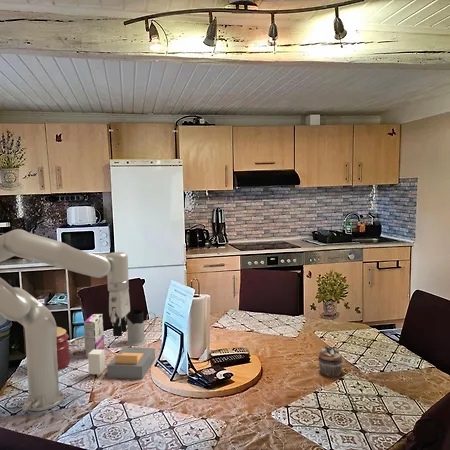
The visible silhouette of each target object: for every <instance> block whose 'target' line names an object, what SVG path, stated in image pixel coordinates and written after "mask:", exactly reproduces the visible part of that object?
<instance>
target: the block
mask: <svg viewBox="0 0 450 450" xmlns="http://www.w3.org/2000/svg"><path fill="white" fill-rule="evenodd" d="M87 359H88V360H87V361H88V374H90V375H92V376H93V377H94V376H96V377H97V378H100V377H101V375H103V371H105V370H106V361H105V359H106V358H105V349H103V350H99V349H93V350H92V351H91V352H90V353H89V354H88V358H87Z"/></svg>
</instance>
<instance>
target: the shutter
mask: <svg viewBox="0 0 450 450" xmlns="http://www.w3.org/2000/svg"><path fill="white" fill-rule="evenodd" d="M114 357H115V363H121V364H137V363H138V362H139V361H140V359H141V358H142V357H143V353H122V354H118V353H117V354H114Z"/></svg>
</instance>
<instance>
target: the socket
mask: <svg viewBox="0 0 450 450" xmlns="http://www.w3.org/2000/svg"><path fill="white" fill-rule="evenodd" d="M122 353H143V357H142V358H141V359H140V361H139V362H138V363H137V364H121V363H115V356H114V357H113V358H112V359H111V360H110V361H109V363H108V364H107V365H106V373H107V378H108V379H133V380H134V379H137V380H139V379H140V380H144V378H145V375H146V374H148V371H149V370H150V368H151V366H152V365H153V364H154V361H155V360H156V348H155V347H124V346H123V347H122V348H121V349H120V350H119V352H117V354H122Z"/></svg>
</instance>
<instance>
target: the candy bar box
mask: <svg viewBox="0 0 450 450" xmlns="http://www.w3.org/2000/svg"><path fill="white" fill-rule="evenodd" d="M83 326H84V327H83V329H84V330H83V333H84V344H85V345H84V347H85V358H87V359H88V354H89V353H90V352H91V351H92V350H93V349H99V350H105V338H104V336H105V334H104V319H103V313H93V314H91V315H90V316H89V317H88V318H87V319H86V320H85V321H83Z"/></svg>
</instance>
